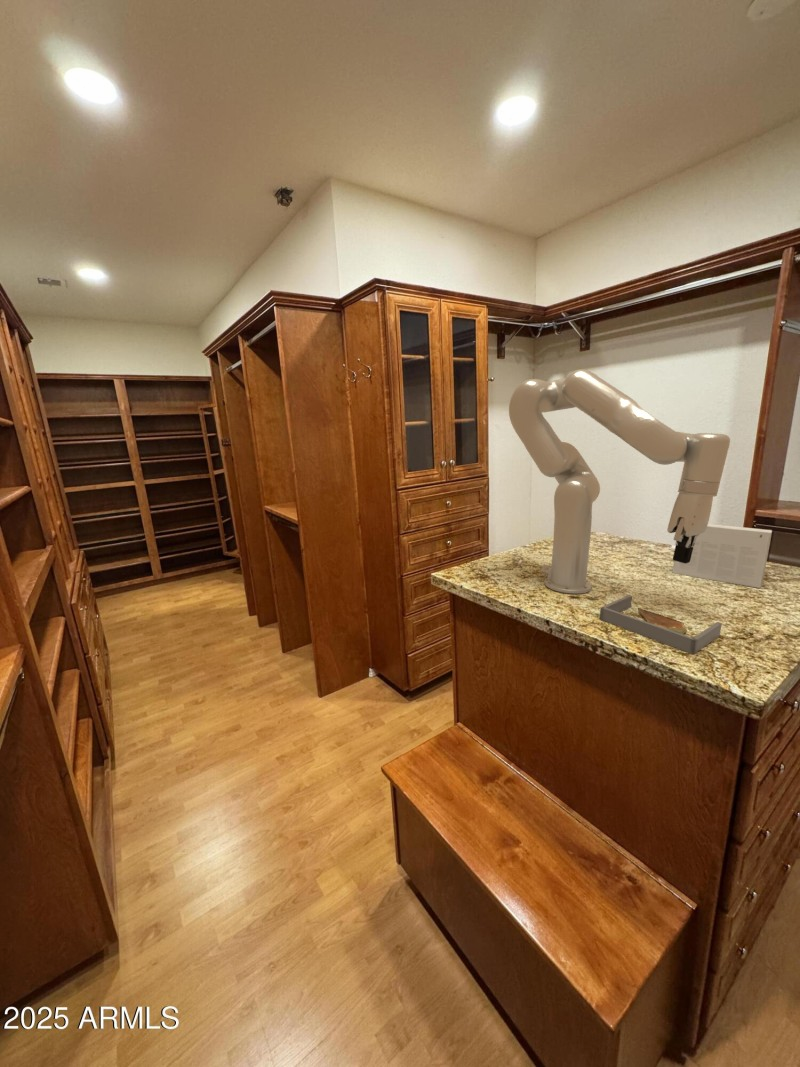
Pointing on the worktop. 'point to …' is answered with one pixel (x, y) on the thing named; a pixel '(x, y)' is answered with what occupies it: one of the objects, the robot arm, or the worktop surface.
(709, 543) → the skincare box
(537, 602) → the worktop surface
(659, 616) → the shard
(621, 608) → the grey u-shaped bracket
